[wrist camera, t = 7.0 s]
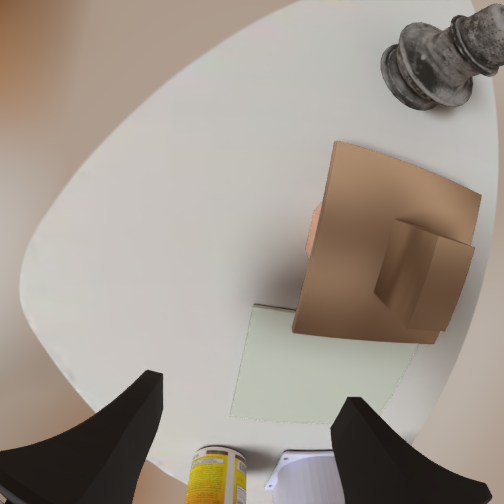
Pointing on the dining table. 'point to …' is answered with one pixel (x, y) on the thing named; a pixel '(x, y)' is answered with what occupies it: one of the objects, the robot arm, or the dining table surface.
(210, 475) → the supplement bottle
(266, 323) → the sage rubber mat
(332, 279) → the walnut lid
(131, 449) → the robot arm
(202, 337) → the dining table surface
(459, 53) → the salt shaker
